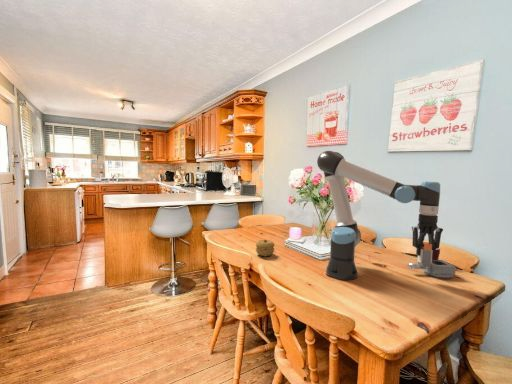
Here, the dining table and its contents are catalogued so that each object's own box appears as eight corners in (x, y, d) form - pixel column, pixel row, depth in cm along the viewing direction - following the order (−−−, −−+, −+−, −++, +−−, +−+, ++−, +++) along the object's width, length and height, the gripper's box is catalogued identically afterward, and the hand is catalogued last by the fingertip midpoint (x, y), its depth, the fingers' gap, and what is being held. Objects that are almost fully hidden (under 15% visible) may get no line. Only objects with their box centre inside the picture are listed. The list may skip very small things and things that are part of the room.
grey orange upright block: (422, 266, 121) (424, 244, 120) (417, 263, 125) (419, 241, 124) (430, 266, 121) (432, 244, 120) (425, 264, 125) (427, 242, 124)
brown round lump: (273, 252, 166) (273, 237, 165) (275, 258, 154) (275, 242, 153) (255, 252, 166) (255, 237, 165) (255, 258, 154) (256, 241, 153)
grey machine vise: (415, 278, 127) (415, 266, 126) (402, 269, 138) (403, 258, 138) (458, 279, 125) (459, 267, 125) (442, 270, 137) (442, 259, 137)
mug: (432, 268, 139) (433, 251, 138) (416, 264, 146) (417, 247, 145) (441, 265, 145) (442, 248, 144) (426, 261, 151) (427, 244, 151)
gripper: (414, 214, 118) (410, 264, 120) (452, 216, 117) (447, 265, 119) (406, 212, 125) (402, 258, 127) (441, 213, 124) (437, 260, 126)
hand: (424, 262), depth 123 cm, fingers closed on grey orange upright block, 4 cm apart
